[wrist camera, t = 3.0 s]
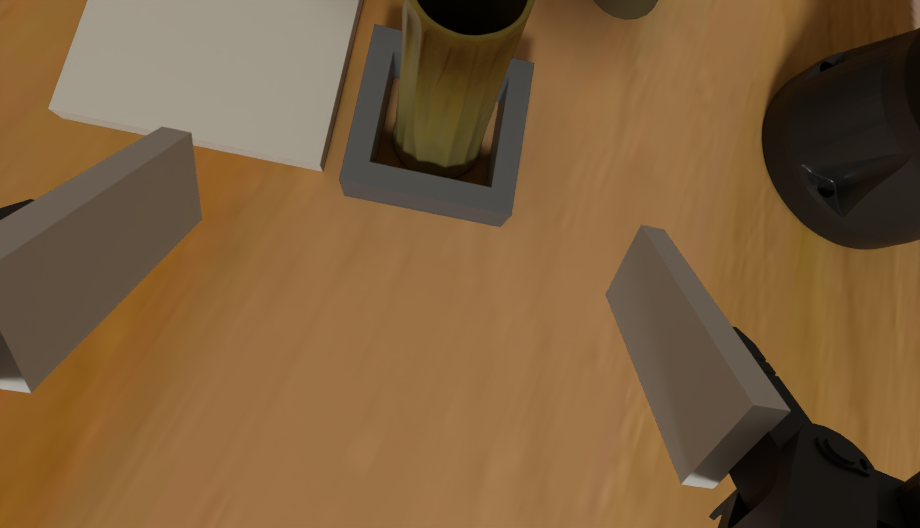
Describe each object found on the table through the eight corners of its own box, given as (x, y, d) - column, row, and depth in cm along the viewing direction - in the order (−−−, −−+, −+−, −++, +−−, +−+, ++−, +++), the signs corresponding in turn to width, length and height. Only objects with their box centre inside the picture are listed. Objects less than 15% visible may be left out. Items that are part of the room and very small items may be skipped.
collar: (522, 87, 33) (534, 62, 30) (500, 226, 31) (511, 215, 28) (376, 53, 32) (374, 24, 29) (344, 195, 30) (339, 180, 27)
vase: (498, 152, 32) (577, 7, 18) (426, 197, 31) (452, 80, 17) (448, 83, 32) (488, -112, 18) (375, 125, 31) (358, -50, 17)
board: (371, -35, 33) (370, -49, 32) (322, 171, 30) (319, 164, 29) (138, -95, 31) (128, -112, 30) (62, 118, 28) (48, 108, 27)
